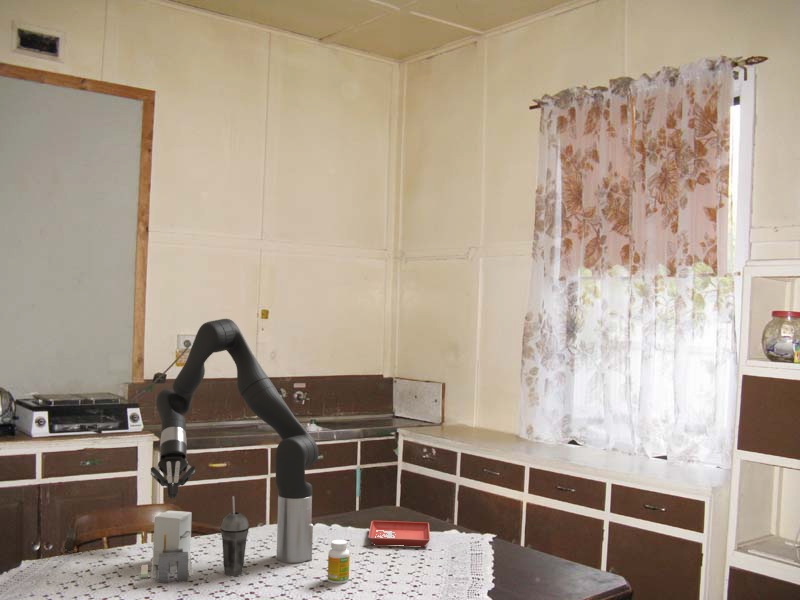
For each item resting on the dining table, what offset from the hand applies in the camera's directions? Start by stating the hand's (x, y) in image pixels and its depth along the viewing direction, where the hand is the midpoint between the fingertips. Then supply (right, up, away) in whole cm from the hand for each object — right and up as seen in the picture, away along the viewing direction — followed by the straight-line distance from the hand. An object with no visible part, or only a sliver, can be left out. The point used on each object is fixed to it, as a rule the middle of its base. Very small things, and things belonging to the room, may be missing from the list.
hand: (172, 497), depth 216 cm
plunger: (+6, -14, -21) cm, 26 cm away
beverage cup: (+21, -15, -19) cm, 32 cm away
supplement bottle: (+48, -16, -22) cm, 55 cm away
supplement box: (+3, -14, -12) cm, 19 cm away
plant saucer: (+64, -17, +15) cm, 68 cm away
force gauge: (+4, -14, -17) cm, 23 cm away
